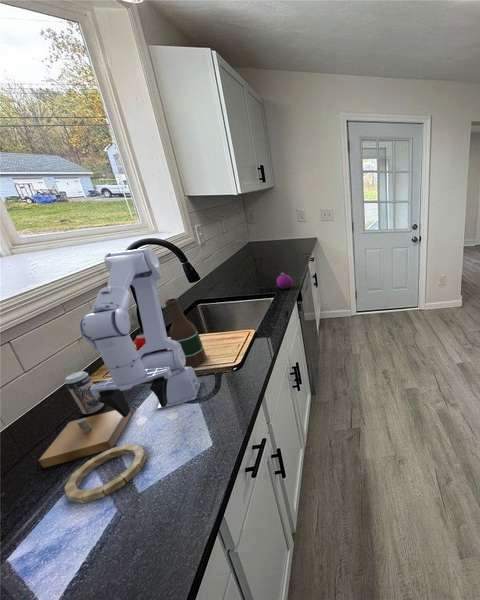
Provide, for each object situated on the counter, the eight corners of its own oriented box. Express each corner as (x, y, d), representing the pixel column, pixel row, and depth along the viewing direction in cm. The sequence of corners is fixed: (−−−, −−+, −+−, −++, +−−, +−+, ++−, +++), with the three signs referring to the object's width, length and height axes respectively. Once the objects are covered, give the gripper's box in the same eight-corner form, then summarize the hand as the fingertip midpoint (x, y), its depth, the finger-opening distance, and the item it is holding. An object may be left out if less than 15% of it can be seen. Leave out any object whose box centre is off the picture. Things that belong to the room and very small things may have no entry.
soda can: (158, 357, 115) (146, 328, 111) (177, 358, 114) (165, 329, 109) (140, 369, 108) (126, 339, 104) (159, 370, 107) (146, 340, 103)
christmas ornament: (291, 285, 182) (287, 268, 178) (295, 288, 175) (291, 271, 171) (276, 288, 178) (272, 271, 174) (280, 292, 171) (276, 275, 167)
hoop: (153, 441, 78) (151, 436, 77) (133, 487, 66) (130, 482, 66) (87, 460, 73) (84, 455, 73) (54, 513, 62) (50, 507, 61)
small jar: (91, 416, 88) (71, 381, 83) (78, 414, 89) (58, 379, 84) (109, 404, 92) (91, 370, 87) (96, 402, 93) (78, 369, 88)
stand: (132, 413, 88) (123, 396, 85) (112, 448, 76) (101, 430, 74) (73, 429, 83) (62, 411, 81) (43, 468, 72) (30, 449, 70)
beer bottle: (198, 368, 107) (174, 304, 98) (176, 369, 107) (150, 305, 98) (211, 355, 114) (190, 294, 105) (190, 356, 114) (168, 296, 105)
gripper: (72, 380, 64) (101, 430, 69) (156, 362, 68) (177, 410, 74) (89, 362, 70) (114, 410, 75) (165, 346, 74) (184, 392, 80)
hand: (146, 409), depth 75 cm, fingers open, 7 cm apart
